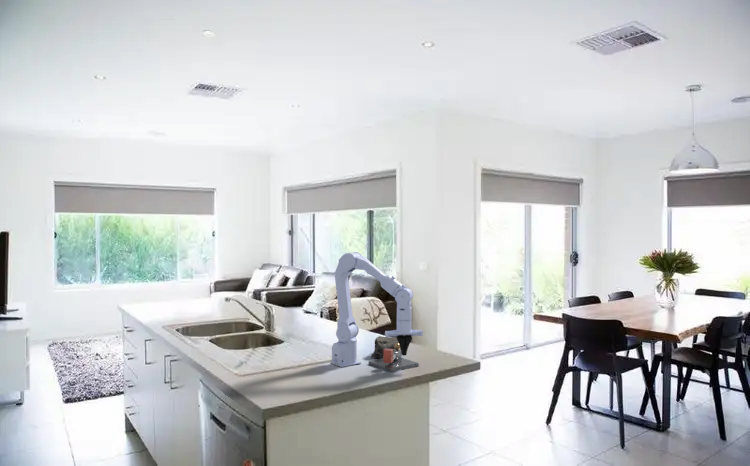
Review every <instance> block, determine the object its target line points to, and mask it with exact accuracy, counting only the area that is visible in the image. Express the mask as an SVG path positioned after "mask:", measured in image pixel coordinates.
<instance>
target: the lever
mask: <svg viewBox="0 0 750 466" xmlns="http://www.w3.org/2000/svg"><path fill="white" fill-rule="evenodd" d="M383 358H384V363H392V362H393V360H394V359H398V351H393V349H384V357H383Z"/></svg>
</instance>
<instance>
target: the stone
mask: <svg viewBox="0 0 750 466" xmlns="http://www.w3.org/2000/svg"><path fill="white" fill-rule="evenodd" d="M396 343H399V342H398V340H397V338H396V336H393V337H386V336H381V335H379V336H377V337H376V338H375V339H374V351H373V353H371V356H370V357H371V359H375V360H377V359H383V358H384V349H393V350H394V345H395V344H396ZM399 350H401V348H400V349H399Z"/></svg>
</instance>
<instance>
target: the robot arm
mask: <svg viewBox="0 0 750 466" xmlns="http://www.w3.org/2000/svg"><path fill="white" fill-rule="evenodd" d="M356 270H360V271H361V270H363V271H365V272H366V273H367V274H369V275H371V277H373V278H375V279H376V280H377V281H378V282H379V283H380V287H381V288H382V289H383V290H385V291H386V292H387V293H389V295H391V296H392V297H394V300H395V302H396V329H393V330H385V332H384V337H396V338H397V340H398V342H399V345H400V348H401V353H402V356H403V357H404V356H407V352H408V348H409V346H410V344H411V343H412V339H413V337H414V336H415V337H417V336H421V337H423V336H424V330H422V329H412V326H413V325H412V321H413V320H412V318H413V317H412V316H413V315H412V314H413V313H412V309H413V308H412V301H413V298H414V292H413V291H412V289H411V288H410V287H408V286H407V287H406V284H402V283H401V282H400V281H398V280H397V279H396V276H394V275H390V274H389V275H386V274H384V273H383V271H381V270H380V269H379V268H378V267H377V266H376V265H374V264H373V262H371V261H370V260H369V259H368V258H367V257H366V256H364V255H362V254H361V253H359V251H355V252H347V253H346V252H345V253H344V254H343V255H342V256H341V257H340V258H339V259H338V262H337V266H336V268H335V271H334V280H335V290H336V291H335V292H336V297H337V298H336V299H337V307H338V316H339V317H338V320H337V328H336V331H335V336H336V338H337V342H334V343H333V344H332V346H331V362H330V364H333V365H334V366H335V365H336V366H338V367H341V368H343V367H349V366H354V365H359V364H361V363H362V362H361V361H359V360H357V359H358V358H357V357H358V356H357V351H358V350H357V336H358V334H359V332H360V331H359V327H358V325H357V321H356V318H355V317H354V316H353V315H354V314H353V309H352V308H353V307H352V298H351V291H350V281H349V279H350V278H349V276H350V275H351V274H352V273H353V272H354V271H356ZM412 336H413V337H412Z"/></svg>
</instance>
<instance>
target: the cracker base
mask: <svg viewBox="0 0 750 466" xmlns="http://www.w3.org/2000/svg"><path fill="white" fill-rule="evenodd" d="M399 349H400V345H399V343H396V344H395V345H394V350H393V351H398V359H394V360H393V362H392V363H384V357H383V358H379V359H372V360H368V365H370V366H373V367H375V368H378V369H381V370H383V371H387V372H390V373H392V372H396V371H402V370H406V369H407V370H408V369H411V368H412V369H413V368H416V367H420V366H419V362H416V361H413V360H410V359H407V358H404V357H402V356H403V355H402V353H401V350H399Z"/></svg>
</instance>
